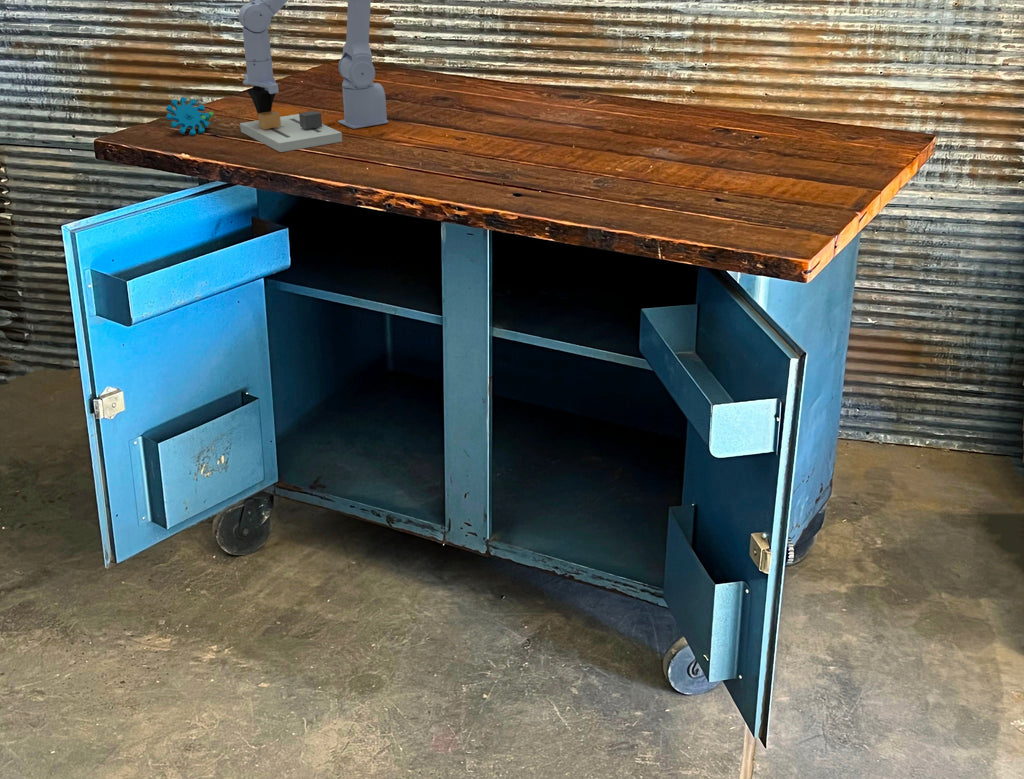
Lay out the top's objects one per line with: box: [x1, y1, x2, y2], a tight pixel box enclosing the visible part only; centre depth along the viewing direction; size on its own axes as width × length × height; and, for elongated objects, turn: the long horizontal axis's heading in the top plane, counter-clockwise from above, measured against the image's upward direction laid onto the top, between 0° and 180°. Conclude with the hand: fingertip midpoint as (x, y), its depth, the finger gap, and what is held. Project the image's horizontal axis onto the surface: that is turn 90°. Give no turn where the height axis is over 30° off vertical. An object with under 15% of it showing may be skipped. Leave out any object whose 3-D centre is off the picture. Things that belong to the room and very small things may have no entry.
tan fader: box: [257, 110, 281, 129], centre depth 279 cm, size 4×3×3 cm
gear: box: [165, 96, 214, 136], centre depth 286 cm, size 11×6×10 cm
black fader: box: [298, 110, 323, 129], centre depth 279 cm, size 4×3×3 cm
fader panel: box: [239, 113, 343, 153], centre depth 280 cm, size 15×22×2 cm
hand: (264, 119), depth 281 cm, fingers closed
